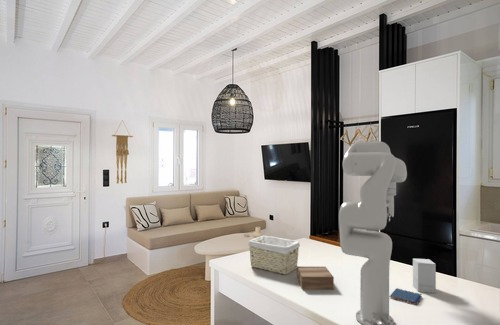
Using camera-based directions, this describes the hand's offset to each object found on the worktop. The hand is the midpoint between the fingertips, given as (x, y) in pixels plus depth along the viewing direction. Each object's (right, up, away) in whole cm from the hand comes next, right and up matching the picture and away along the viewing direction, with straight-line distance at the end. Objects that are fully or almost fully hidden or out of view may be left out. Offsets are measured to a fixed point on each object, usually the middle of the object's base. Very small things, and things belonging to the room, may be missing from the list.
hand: (387, 228), depth 145 cm
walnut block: (-35, -26, -2) cm, 43 cm away
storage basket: (-52, -26, +20) cm, 61 cm away
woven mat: (0, -26, -16) cm, 31 cm away
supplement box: (+13, -26, -7) cm, 30 cm away
